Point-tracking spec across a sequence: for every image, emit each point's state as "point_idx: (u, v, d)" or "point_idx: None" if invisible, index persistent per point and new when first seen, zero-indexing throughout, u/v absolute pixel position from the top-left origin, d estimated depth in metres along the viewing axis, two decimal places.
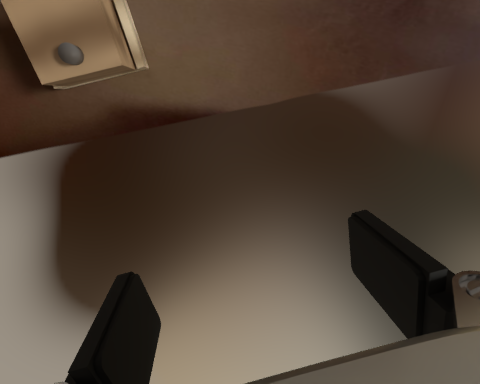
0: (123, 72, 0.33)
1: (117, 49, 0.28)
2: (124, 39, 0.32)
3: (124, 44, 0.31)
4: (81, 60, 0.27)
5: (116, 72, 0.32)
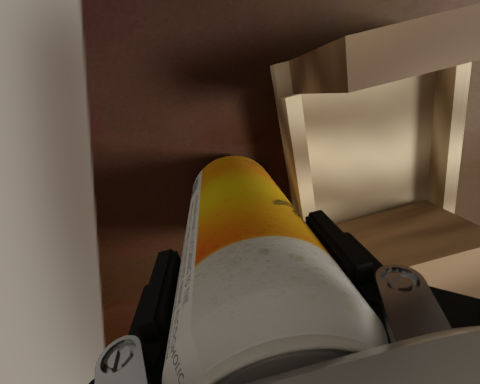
0: None
1: None
2: None
3: None
4: None
5: None
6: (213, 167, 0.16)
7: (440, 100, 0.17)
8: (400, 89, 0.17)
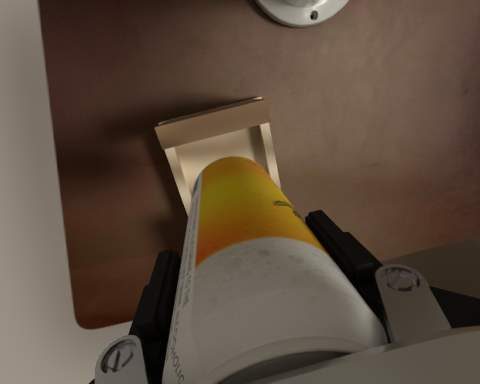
0: None
1: None
2: None
3: None
4: None
5: None
6: (213, 168, 0.16)
7: (261, 140, 0.29)
8: (238, 134, 0.29)
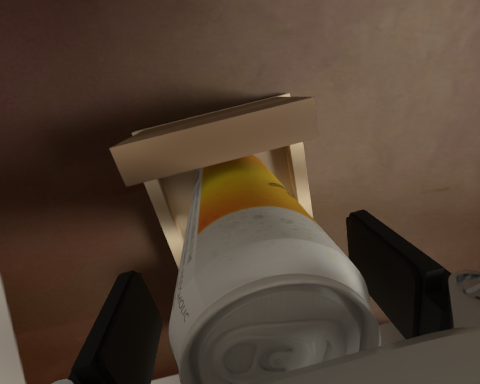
0: None
1: None
2: None
3: None
4: None
5: None
6: None
7: (288, 159, 0.20)
8: None
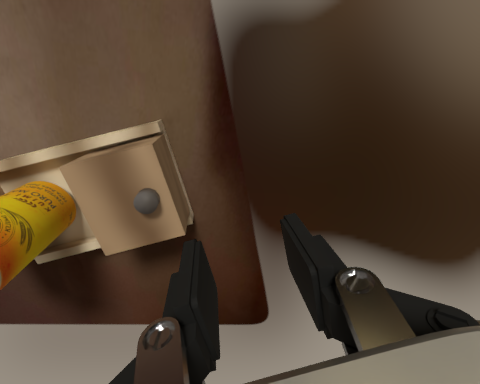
0: (167, 149, 0.26)
1: (134, 148, 0.21)
2: (129, 143, 0.26)
3: (133, 143, 0.25)
4: (152, 191, 0.22)
5: (167, 156, 0.25)
6: None
7: None
8: None
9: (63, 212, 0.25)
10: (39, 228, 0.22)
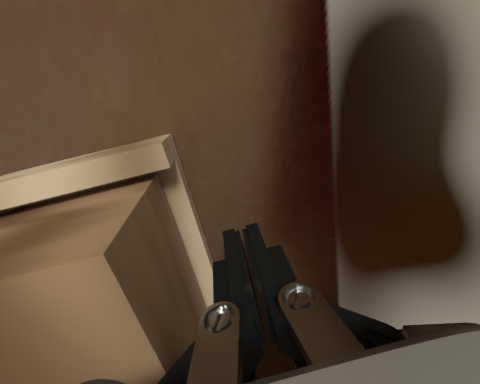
0: (166, 212, 0.11)
1: (38, 264, 0.06)
2: (67, 201, 0.10)
3: (74, 205, 0.09)
4: None
5: (164, 237, 0.10)
6: None
7: None
8: None
9: None
10: None
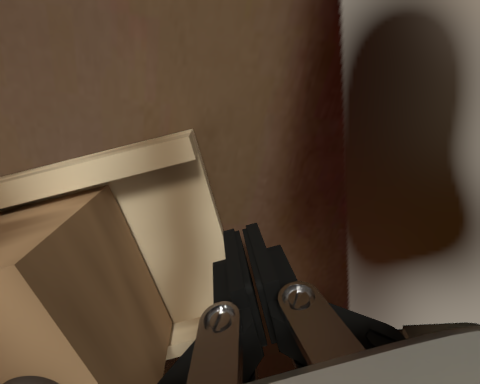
0: (116, 221, 0.12)
1: None
2: (22, 210, 0.11)
3: (24, 215, 0.10)
4: None
5: (110, 244, 0.11)
6: None
7: None
8: None
9: None
10: None
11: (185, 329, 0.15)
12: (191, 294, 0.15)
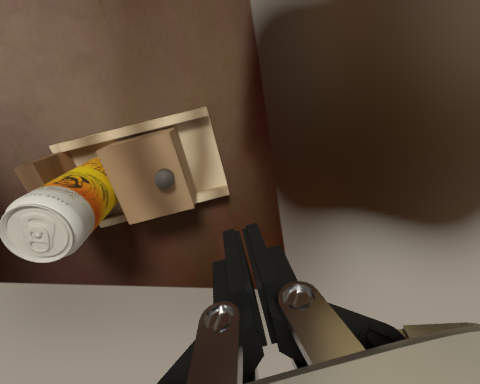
0: (179, 139, 0.32)
1: (155, 135, 0.27)
2: (148, 133, 0.31)
3: (152, 133, 0.30)
4: (169, 170, 0.28)
5: (179, 144, 0.31)
6: None
7: None
8: None
9: None
10: (111, 191, 0.28)
11: (202, 192, 0.35)
12: (205, 177, 0.35)
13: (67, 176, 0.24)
